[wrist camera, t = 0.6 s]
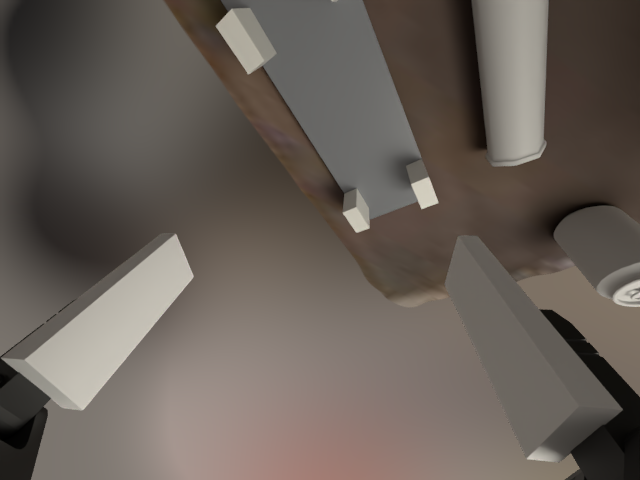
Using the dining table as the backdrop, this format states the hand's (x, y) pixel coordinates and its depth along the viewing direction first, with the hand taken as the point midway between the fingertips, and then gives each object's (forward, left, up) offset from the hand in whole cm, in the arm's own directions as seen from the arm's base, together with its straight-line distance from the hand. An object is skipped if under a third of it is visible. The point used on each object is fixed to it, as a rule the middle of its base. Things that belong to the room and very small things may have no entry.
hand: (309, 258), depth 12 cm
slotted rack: (-1, +1, -24) cm, 24 cm away
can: (-23, +31, -24) cm, 45 cm away
